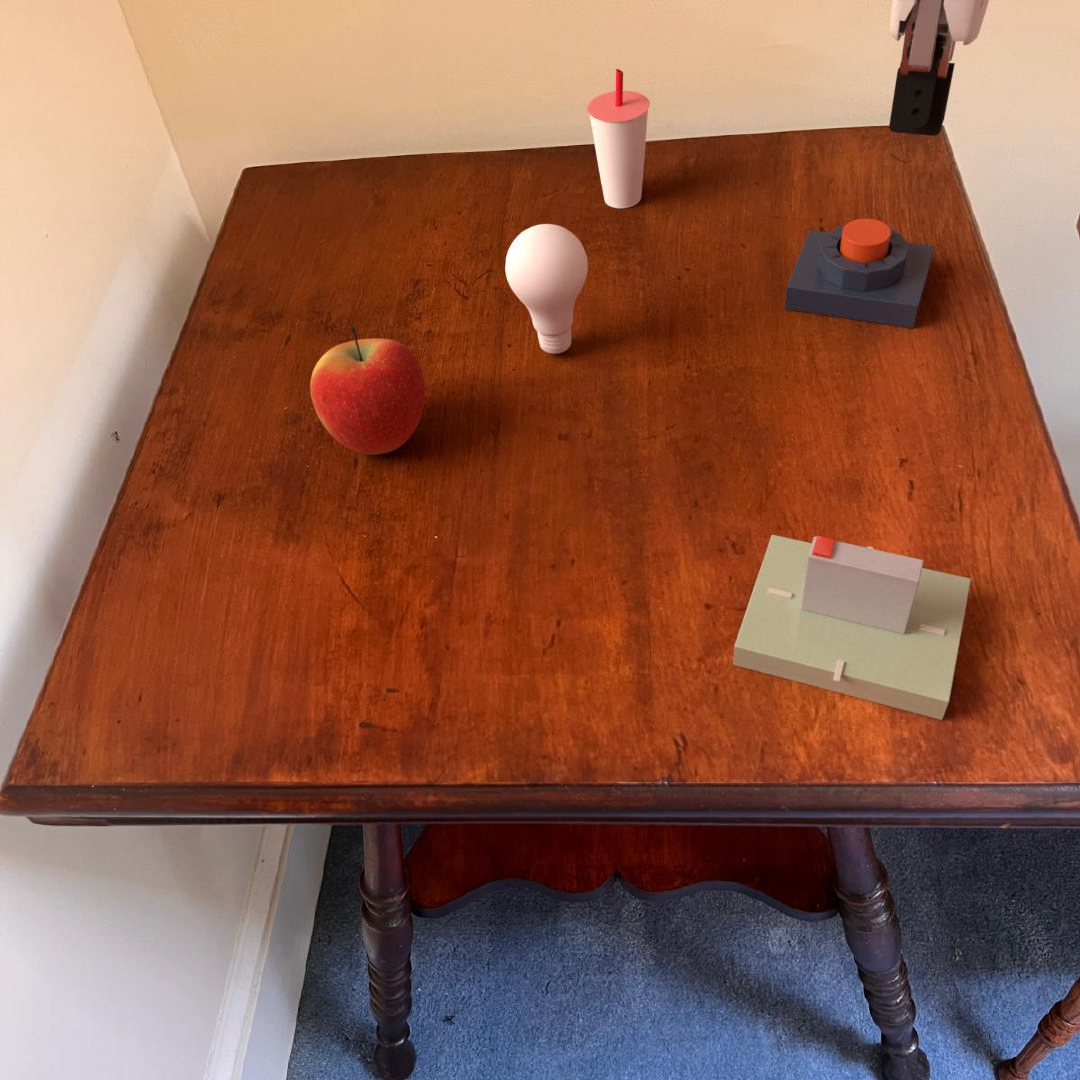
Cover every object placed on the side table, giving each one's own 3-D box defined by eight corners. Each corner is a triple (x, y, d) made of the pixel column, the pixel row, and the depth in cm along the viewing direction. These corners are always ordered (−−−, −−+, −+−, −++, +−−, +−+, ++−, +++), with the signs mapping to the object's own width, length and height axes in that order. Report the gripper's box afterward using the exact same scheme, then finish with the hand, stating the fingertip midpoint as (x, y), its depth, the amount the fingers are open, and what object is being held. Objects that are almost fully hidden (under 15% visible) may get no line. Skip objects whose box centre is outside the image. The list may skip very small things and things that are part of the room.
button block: (929, 268, 84) (939, 225, 81) (913, 329, 80) (922, 286, 77) (806, 252, 87) (811, 210, 84) (784, 309, 83) (788, 267, 80)
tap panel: (965, 591, 64) (973, 569, 62) (940, 729, 58) (948, 709, 56) (772, 547, 67) (774, 525, 66) (730, 673, 62) (731, 652, 60)
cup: (652, 181, 97) (649, 53, 88) (651, 213, 94) (647, 84, 85) (595, 183, 98) (587, 57, 89) (591, 215, 94) (582, 87, 85)
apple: (327, 484, 75) (288, 380, 68) (333, 410, 81) (297, 305, 73) (436, 470, 75) (409, 364, 68) (435, 396, 80) (410, 290, 73)
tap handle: (908, 613, 60) (924, 556, 57) (904, 634, 60) (920, 578, 56) (806, 588, 62) (814, 532, 58) (800, 609, 61) (808, 553, 58)
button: (891, 240, 81) (894, 221, 80) (883, 267, 79) (886, 247, 78) (845, 235, 82) (847, 215, 81) (835, 261, 80) (838, 241, 79)
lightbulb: (551, 387, 80) (535, 267, 71) (503, 351, 83) (483, 232, 75) (610, 350, 82) (602, 229, 74) (561, 316, 85) (548, 197, 77)
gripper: (1036, -160, 48) (959, 195, 62) (1063, -251, 57) (991, 79, 71) (871, -160, 51) (833, 182, 64) (921, -247, 59) (878, 71, 73)
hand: (915, 127), depth 67 cm, fingers closed
